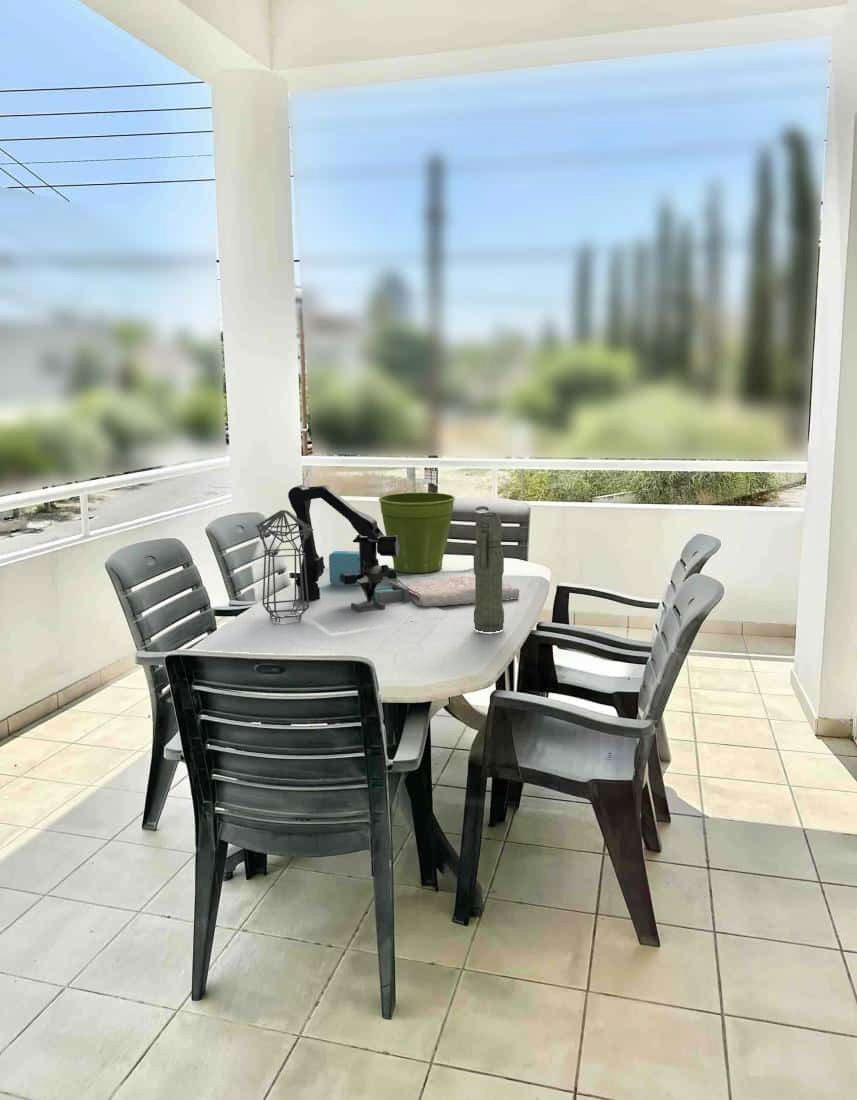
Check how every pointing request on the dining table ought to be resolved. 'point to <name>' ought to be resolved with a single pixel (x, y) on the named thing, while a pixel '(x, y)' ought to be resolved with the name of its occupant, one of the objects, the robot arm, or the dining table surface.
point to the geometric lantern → (271, 520)
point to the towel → (447, 588)
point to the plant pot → (418, 528)
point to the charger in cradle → (368, 607)
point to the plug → (380, 592)
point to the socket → (393, 593)
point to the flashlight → (488, 573)
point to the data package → (343, 565)
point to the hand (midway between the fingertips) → (369, 600)
